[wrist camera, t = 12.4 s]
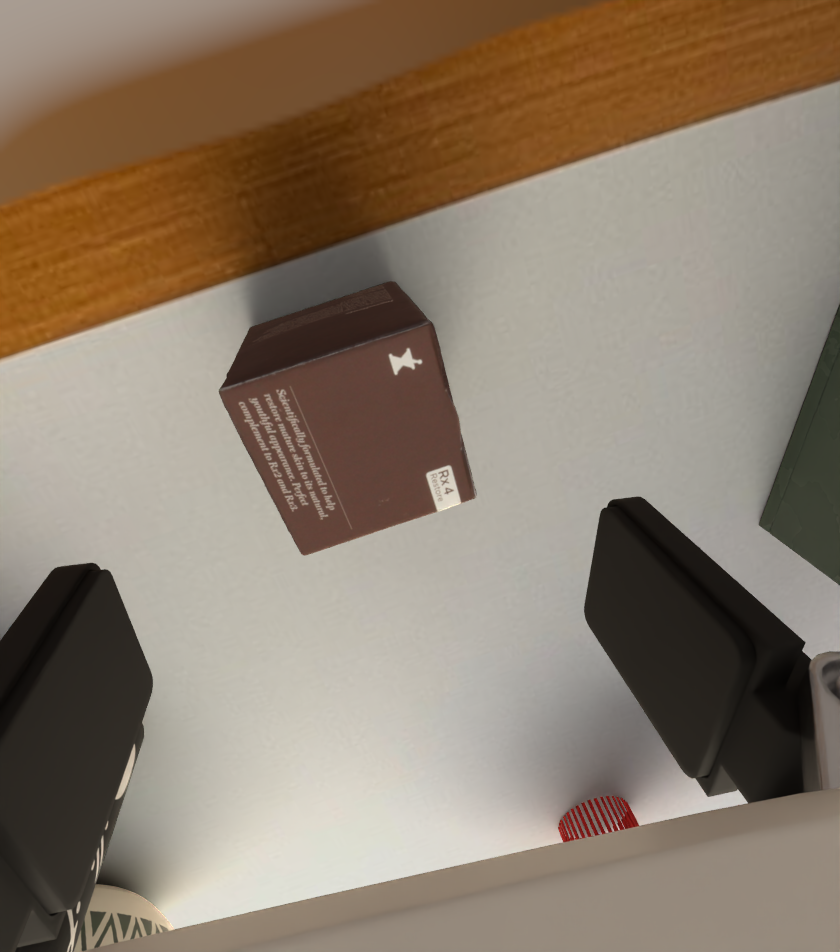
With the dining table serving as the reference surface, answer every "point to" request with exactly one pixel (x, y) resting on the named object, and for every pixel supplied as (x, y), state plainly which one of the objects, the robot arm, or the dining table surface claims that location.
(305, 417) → the box
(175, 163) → the dining table surface
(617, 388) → the dining table surface
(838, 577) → the green open box
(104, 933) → the planter
